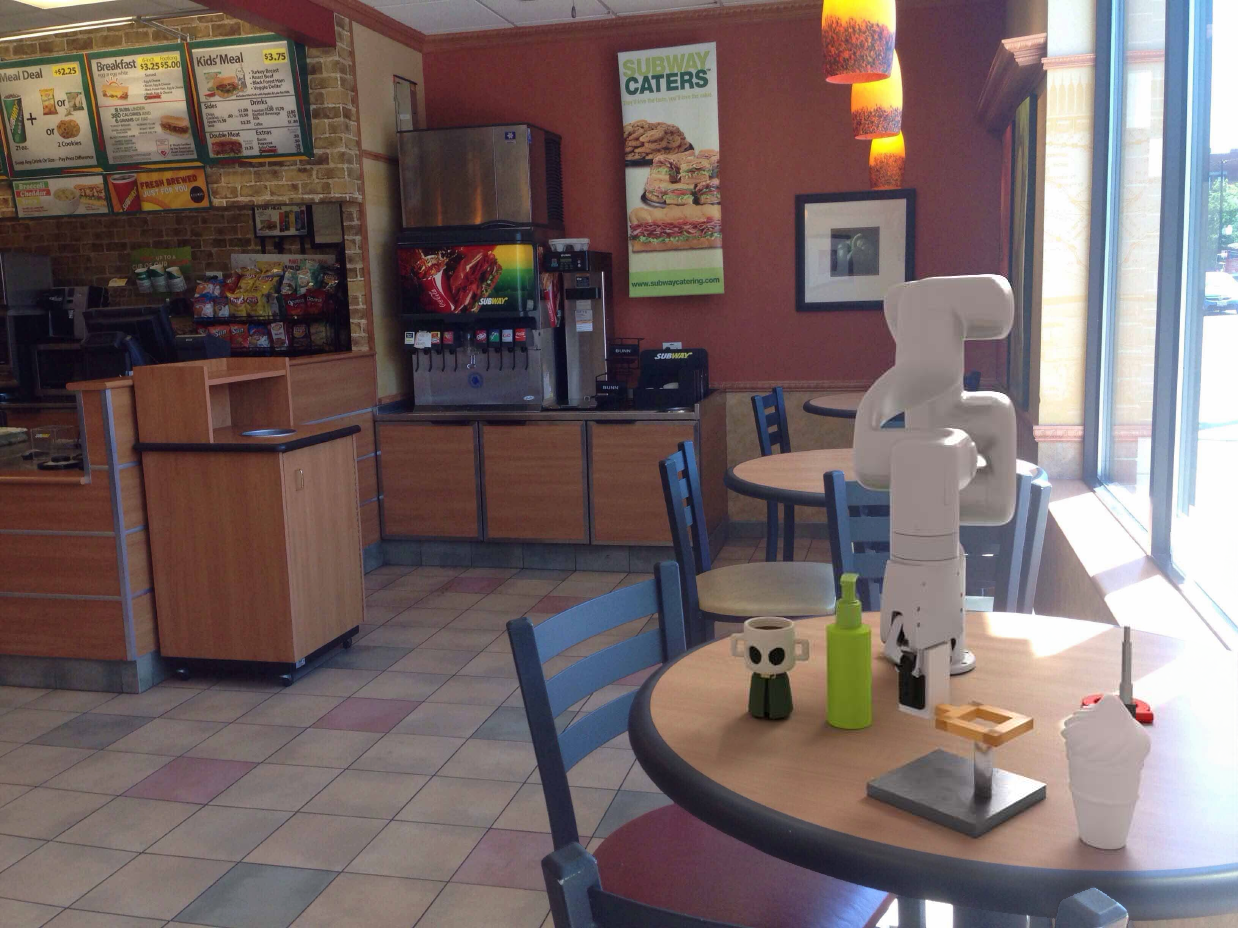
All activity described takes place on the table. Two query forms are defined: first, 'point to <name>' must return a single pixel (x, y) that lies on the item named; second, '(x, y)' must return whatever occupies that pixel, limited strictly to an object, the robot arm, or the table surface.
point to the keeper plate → (958, 790)
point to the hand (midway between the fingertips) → (924, 699)
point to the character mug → (770, 663)
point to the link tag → (959, 718)
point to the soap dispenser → (849, 662)
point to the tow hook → (1126, 686)
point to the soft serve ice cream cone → (1105, 769)
